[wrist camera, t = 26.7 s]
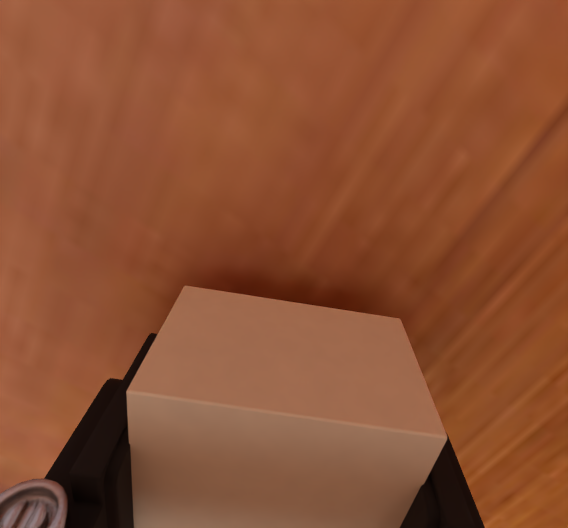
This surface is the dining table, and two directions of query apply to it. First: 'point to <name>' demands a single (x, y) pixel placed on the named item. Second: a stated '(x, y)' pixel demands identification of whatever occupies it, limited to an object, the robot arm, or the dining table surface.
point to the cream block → (278, 417)
